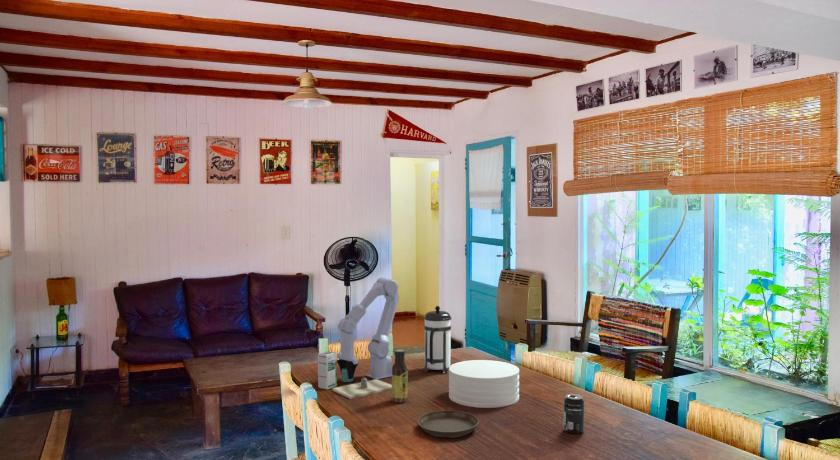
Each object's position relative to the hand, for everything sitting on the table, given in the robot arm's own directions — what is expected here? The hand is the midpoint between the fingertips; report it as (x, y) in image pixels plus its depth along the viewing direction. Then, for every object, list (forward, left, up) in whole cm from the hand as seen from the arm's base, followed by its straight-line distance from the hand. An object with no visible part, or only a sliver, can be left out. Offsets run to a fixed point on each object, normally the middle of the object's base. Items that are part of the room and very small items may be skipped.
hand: (347, 377), depth 271 cm
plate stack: (-32, +52, -2) cm, 61 cm away
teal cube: (0, 0, -1) cm, 1 cm away
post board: (+1, +15, -2) cm, 15 cm away
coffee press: (-42, +11, -2) cm, 43 cm away
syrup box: (+11, +2, -2) cm, 11 cm away
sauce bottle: (-2, +36, -2) cm, 36 cm away
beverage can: (-29, +99, -2) cm, 103 cm away
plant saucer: (+3, +71, -2) cm, 71 cm away
